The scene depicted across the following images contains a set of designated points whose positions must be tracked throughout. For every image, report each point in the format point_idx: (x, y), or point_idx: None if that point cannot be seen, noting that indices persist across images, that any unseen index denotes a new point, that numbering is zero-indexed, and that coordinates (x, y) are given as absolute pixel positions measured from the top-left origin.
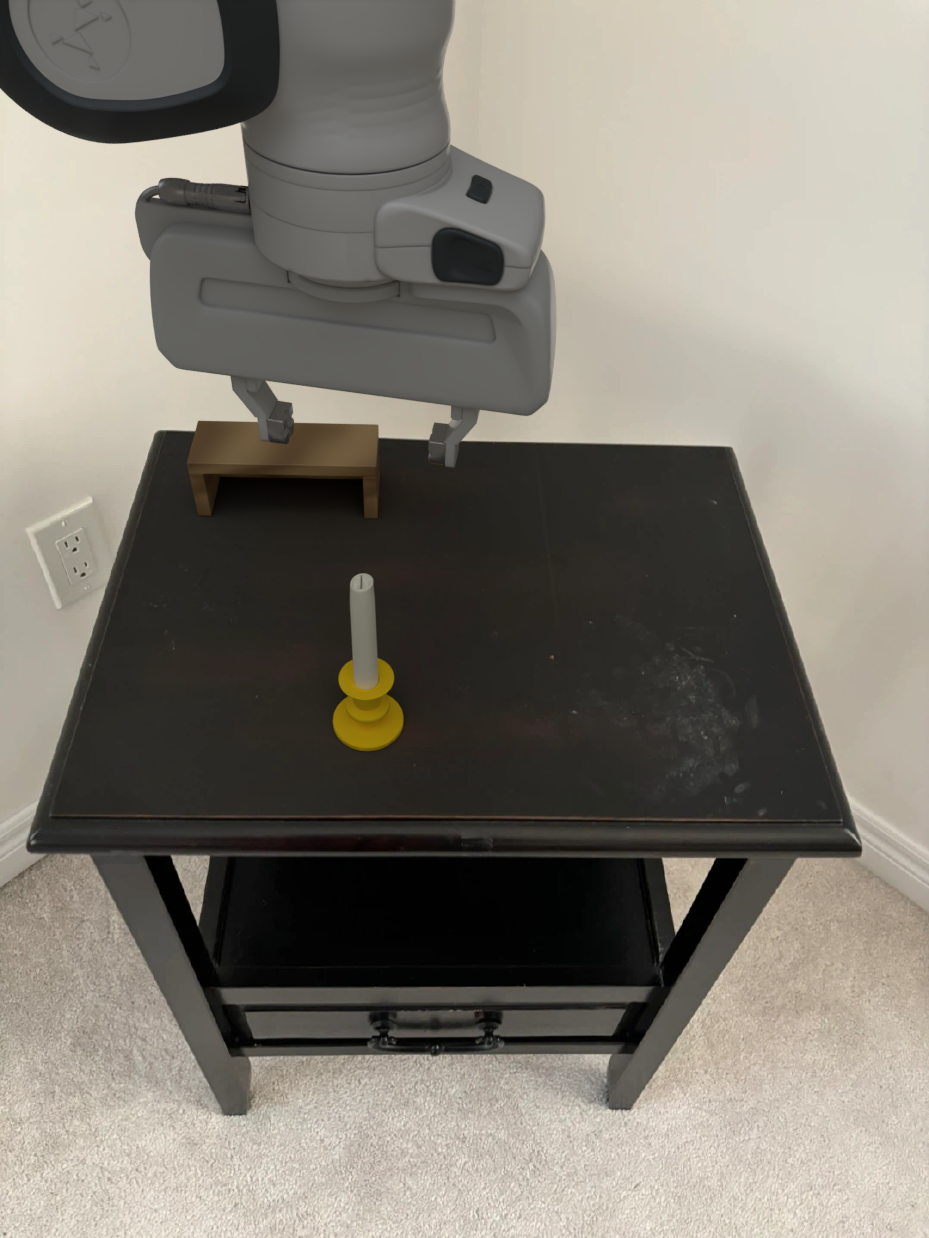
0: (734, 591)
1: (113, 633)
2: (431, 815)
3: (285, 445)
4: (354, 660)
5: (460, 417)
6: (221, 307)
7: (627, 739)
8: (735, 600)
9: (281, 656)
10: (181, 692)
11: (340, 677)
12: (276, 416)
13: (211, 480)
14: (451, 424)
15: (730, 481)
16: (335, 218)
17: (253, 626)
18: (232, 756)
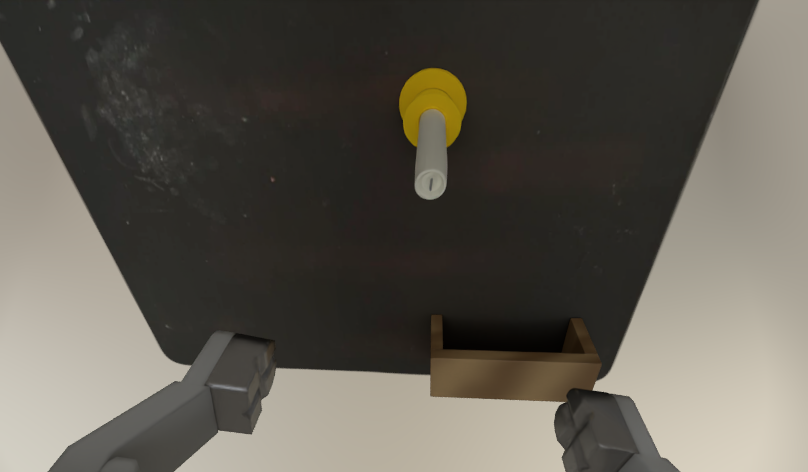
0: (133, 246)
1: (669, 201)
2: None
3: (511, 379)
4: (443, 127)
5: (104, 468)
6: None
7: (191, 88)
8: (130, 237)
9: (514, 177)
10: (610, 135)
11: (459, 123)
12: (612, 458)
13: (572, 348)
14: (195, 433)
15: (159, 343)
16: None
17: (538, 209)
18: (565, 58)
